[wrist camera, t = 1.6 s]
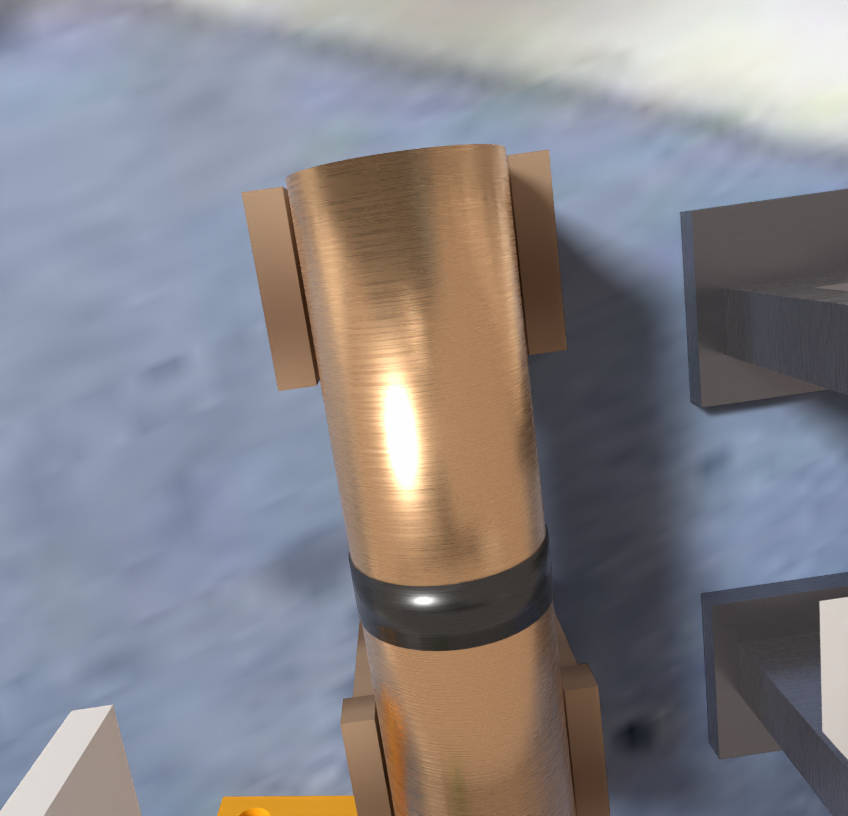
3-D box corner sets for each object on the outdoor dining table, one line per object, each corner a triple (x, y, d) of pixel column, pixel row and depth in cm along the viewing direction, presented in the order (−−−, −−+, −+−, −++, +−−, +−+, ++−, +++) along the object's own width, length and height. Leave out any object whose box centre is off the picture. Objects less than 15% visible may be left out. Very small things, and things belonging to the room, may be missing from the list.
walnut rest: (286, 208, 25) (241, 192, 18) (502, 178, 25) (549, 149, 18) (373, 708, 30) (366, 865, 22) (556, 681, 30) (611, 829, 22)
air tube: (298, 189, 19) (265, 169, 14) (491, 162, 19) (526, 133, 14) (406, 827, 23) (409, 984, 18) (562, 804, 23) (607, 954, 18)
